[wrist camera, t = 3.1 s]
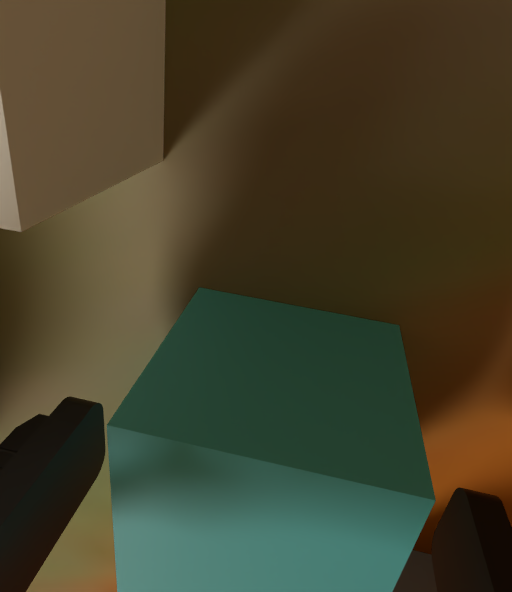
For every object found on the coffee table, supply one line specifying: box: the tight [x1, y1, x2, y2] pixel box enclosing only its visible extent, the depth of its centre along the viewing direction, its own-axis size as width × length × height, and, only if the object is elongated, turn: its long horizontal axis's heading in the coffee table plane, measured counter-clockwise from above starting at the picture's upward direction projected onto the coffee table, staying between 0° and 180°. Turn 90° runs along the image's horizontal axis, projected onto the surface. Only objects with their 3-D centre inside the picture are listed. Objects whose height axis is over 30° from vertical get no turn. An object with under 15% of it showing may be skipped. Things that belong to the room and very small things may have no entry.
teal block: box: [107, 287, 436, 592], centre depth 10 cm, size 5×5×5 cm
